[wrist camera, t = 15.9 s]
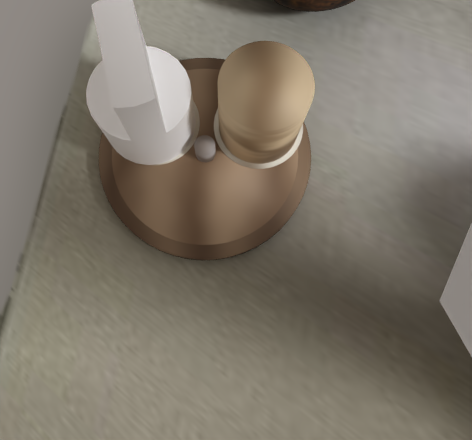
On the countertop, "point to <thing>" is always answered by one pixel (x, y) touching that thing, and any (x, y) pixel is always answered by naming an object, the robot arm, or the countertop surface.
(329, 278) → the countertop surface
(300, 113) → the oak cylinder
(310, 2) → the glass bottle
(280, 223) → the board
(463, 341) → the robot arm
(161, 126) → the cylinder with rectangular tab
